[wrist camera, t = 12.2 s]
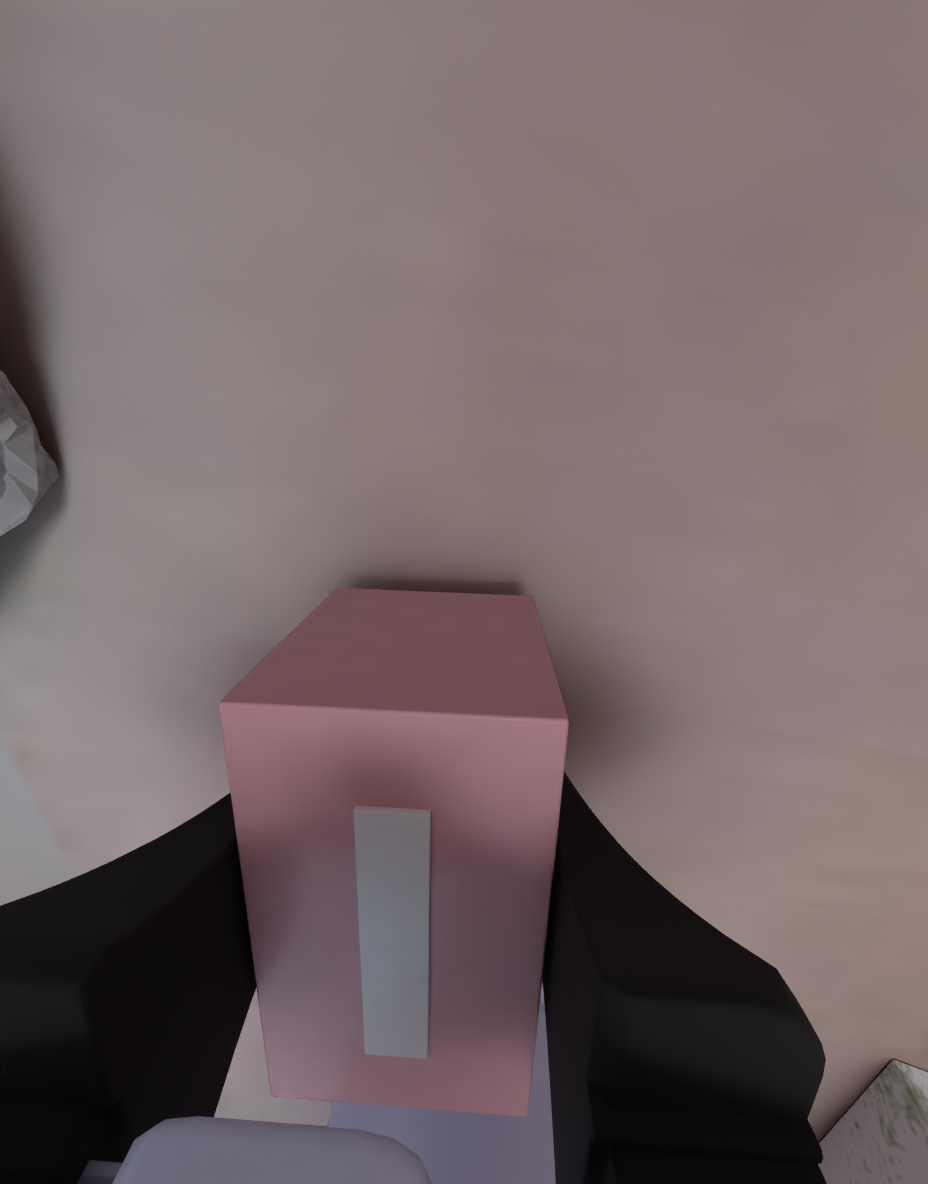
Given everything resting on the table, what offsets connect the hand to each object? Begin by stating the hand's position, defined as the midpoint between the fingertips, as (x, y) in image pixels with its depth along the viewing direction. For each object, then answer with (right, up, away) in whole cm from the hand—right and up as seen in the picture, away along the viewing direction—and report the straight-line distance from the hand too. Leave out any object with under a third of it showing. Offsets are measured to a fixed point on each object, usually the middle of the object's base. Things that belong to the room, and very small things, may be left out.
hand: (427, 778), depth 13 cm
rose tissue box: (0, 0, +2) cm, 2 cm away
